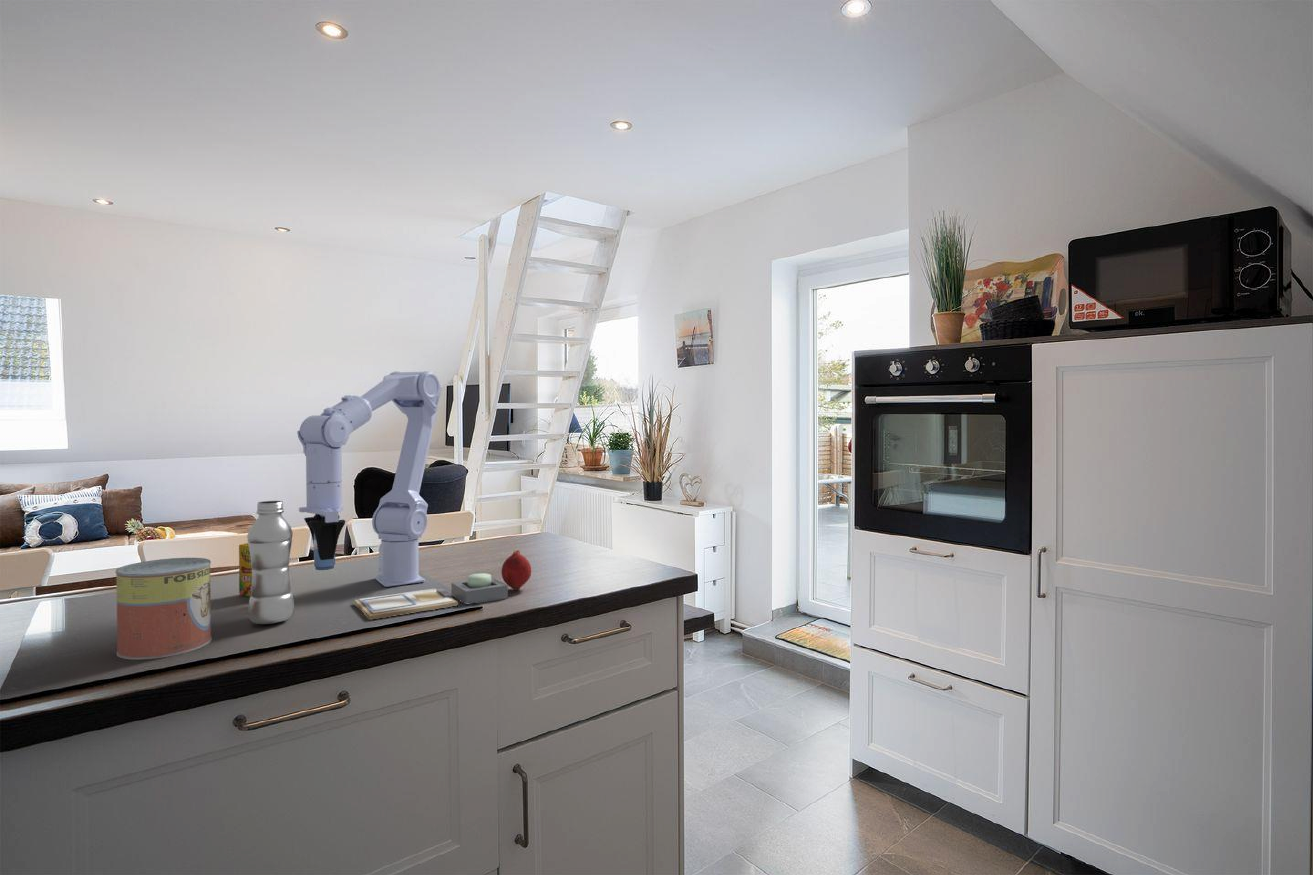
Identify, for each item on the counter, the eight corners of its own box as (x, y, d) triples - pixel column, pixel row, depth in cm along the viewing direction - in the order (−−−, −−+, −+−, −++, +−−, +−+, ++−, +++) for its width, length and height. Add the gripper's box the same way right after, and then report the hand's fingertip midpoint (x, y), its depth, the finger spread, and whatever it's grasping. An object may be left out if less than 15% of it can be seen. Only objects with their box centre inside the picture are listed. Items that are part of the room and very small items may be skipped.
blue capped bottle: (312, 567, 120) (312, 529, 120) (333, 565, 122) (333, 527, 122) (315, 571, 117) (315, 531, 117) (337, 568, 119) (336, 530, 119)
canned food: (190, 656, 94) (189, 572, 93) (98, 662, 91) (97, 575, 91) (224, 631, 105) (223, 556, 104) (143, 636, 102) (142, 558, 102)
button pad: (451, 595, 127) (451, 582, 127) (491, 589, 132) (491, 576, 132) (466, 605, 121) (466, 591, 121) (507, 598, 125) (507, 585, 125)
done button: (463, 585, 127) (463, 575, 127) (486, 582, 129) (486, 572, 129) (472, 590, 123) (472, 579, 123) (494, 587, 126) (494, 576, 126)
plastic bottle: (303, 618, 112) (302, 500, 111) (268, 630, 105) (267, 505, 105) (274, 614, 114) (273, 498, 113) (238, 626, 107) (237, 503, 107)
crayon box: (238, 596, 126) (237, 534, 125) (252, 592, 128) (252, 532, 128) (265, 600, 123) (265, 537, 123) (280, 596, 126) (279, 535, 125)
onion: (527, 593, 129) (527, 552, 129) (498, 593, 129) (498, 552, 129) (533, 586, 135) (533, 547, 134) (505, 585, 135) (505, 546, 134)
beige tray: (354, 604, 121) (354, 596, 121) (436, 592, 129) (436, 584, 129) (369, 620, 111) (369, 612, 111) (458, 606, 120) (458, 598, 120)
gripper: (293, 479, 123) (293, 552, 123) (305, 486, 111) (306, 567, 111) (335, 478, 127) (335, 548, 127) (351, 484, 115) (351, 562, 115)
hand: (324, 557), depth 119 cm, fingers closed on blue capped bottle, 3 cm apart
